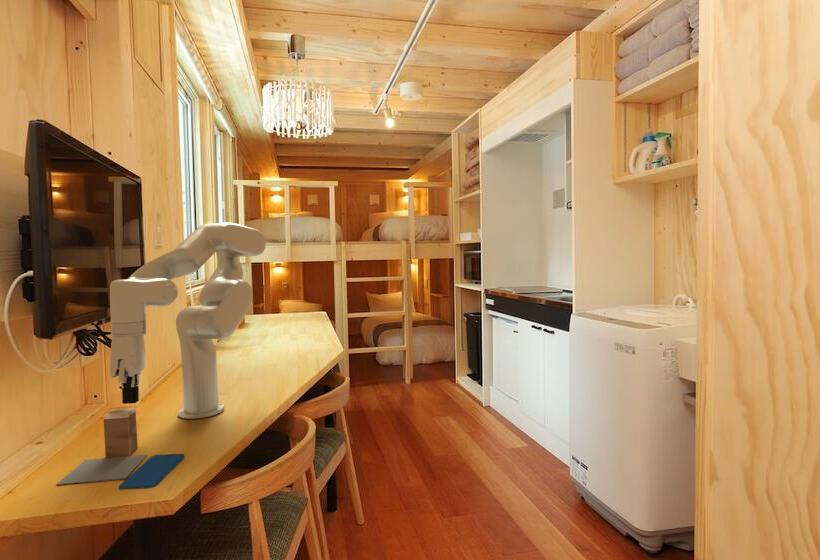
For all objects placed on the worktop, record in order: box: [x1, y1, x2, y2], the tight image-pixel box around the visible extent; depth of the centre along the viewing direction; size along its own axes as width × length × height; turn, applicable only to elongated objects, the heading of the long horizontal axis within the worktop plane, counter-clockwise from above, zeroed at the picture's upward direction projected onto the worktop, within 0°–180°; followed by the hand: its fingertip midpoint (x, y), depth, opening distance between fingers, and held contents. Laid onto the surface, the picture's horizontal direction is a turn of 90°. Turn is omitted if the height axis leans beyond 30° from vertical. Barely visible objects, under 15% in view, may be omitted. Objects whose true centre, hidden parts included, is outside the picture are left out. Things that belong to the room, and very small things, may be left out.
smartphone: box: [118, 453, 185, 490], centre depth 104 cm, size 7×1×15 cm
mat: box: [56, 454, 148, 486], centre depth 105 cm, size 12×13×1 cm
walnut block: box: [102, 407, 139, 458], centre depth 114 cm, size 5×5×10 cm
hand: (130, 402), depth 121 cm, fingers closed
